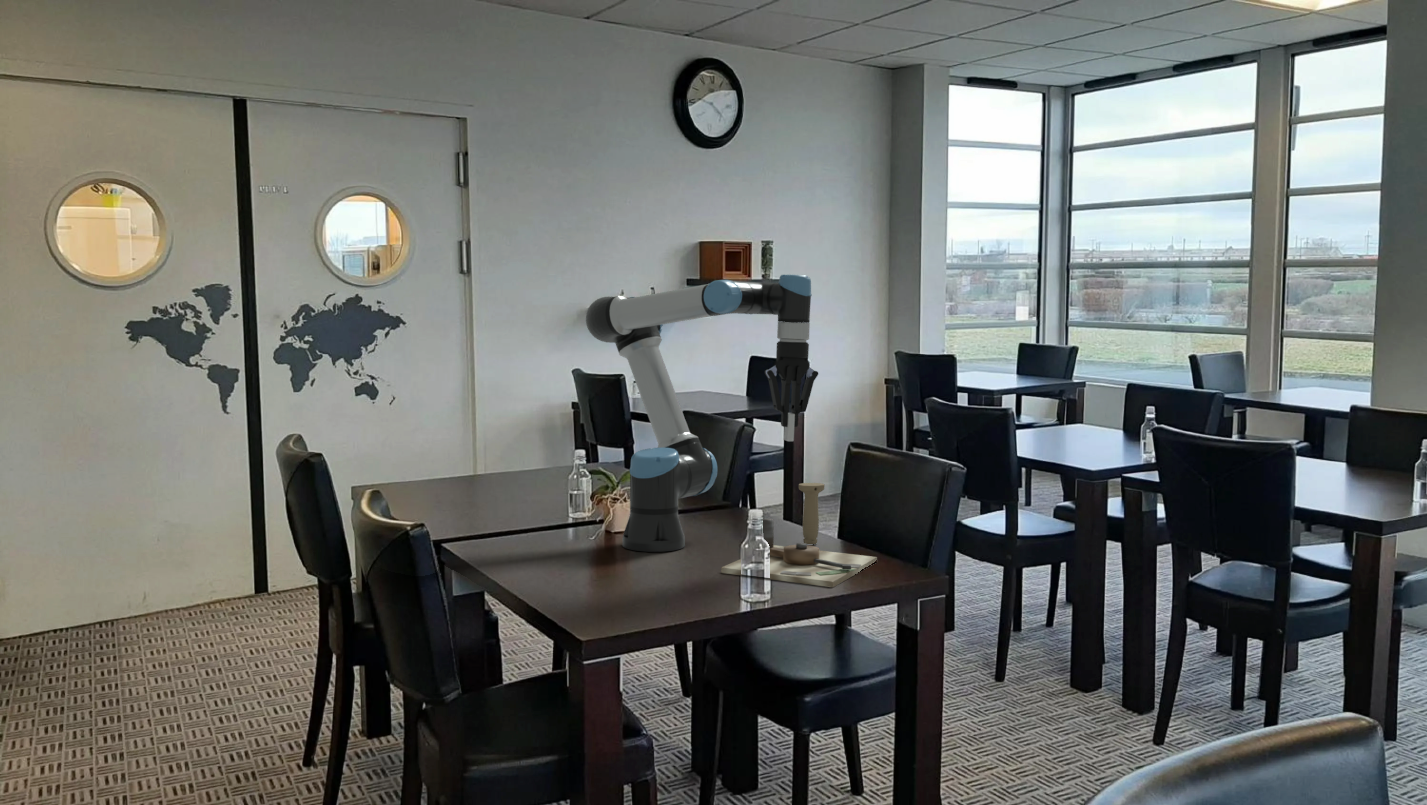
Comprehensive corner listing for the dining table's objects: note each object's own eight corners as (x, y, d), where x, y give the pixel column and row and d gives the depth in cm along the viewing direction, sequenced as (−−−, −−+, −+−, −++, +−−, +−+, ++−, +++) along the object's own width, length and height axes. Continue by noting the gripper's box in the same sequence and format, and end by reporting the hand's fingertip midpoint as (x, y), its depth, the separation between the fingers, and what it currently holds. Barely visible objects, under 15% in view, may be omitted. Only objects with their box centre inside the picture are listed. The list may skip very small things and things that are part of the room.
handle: (826, 545, 274) (827, 485, 273) (802, 547, 272) (804, 486, 270) (817, 541, 278) (818, 482, 277) (794, 543, 276) (795, 483, 275)
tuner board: (721, 572, 243) (721, 566, 243) (773, 550, 268) (773, 544, 267) (834, 587, 231) (834, 580, 231) (878, 562, 256) (878, 556, 255)
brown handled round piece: (861, 568, 243) (862, 531, 242) (839, 573, 237) (840, 536, 236) (773, 550, 260) (774, 516, 259) (751, 555, 254) (751, 520, 253)
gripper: (812, 340, 266) (808, 438, 268) (761, 339, 262) (757, 438, 265) (824, 342, 259) (820, 442, 261) (772, 340, 255) (768, 442, 257)
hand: (788, 440), depth 263 cm, fingers closed
